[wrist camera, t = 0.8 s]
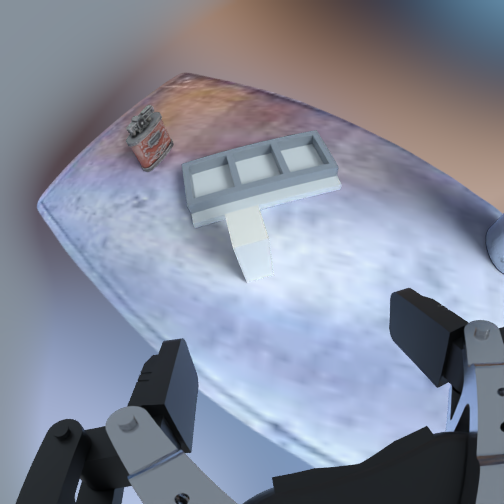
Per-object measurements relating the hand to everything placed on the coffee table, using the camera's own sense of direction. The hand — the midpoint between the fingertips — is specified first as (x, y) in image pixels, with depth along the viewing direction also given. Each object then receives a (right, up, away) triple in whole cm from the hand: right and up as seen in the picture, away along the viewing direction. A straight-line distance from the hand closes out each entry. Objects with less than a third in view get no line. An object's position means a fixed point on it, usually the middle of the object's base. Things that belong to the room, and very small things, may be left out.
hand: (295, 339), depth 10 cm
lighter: (-19, +21, +38) cm, 47 cm away
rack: (0, +15, +33) cm, 36 cm away
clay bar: (-1, +2, +27) cm, 27 cm away
